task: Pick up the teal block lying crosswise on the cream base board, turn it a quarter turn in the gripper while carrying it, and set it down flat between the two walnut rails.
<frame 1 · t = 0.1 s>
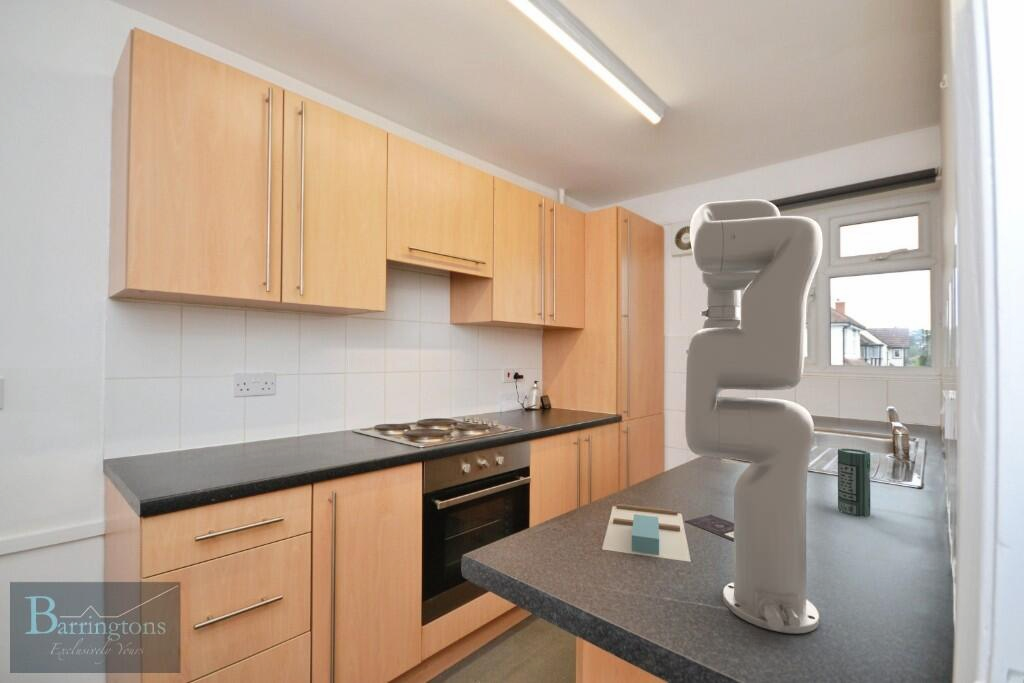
hand: (723, 383, 112), 31 cm above the countertop, tool pointing down, fingers open, 9 cm apart
cream base board: (645, 531, 97), on the countertop
chocolate bar: (733, 536, 97), on the countertop
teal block: (645, 540, 91), resting on cream base board
can: (853, 513, 111), on the countertop
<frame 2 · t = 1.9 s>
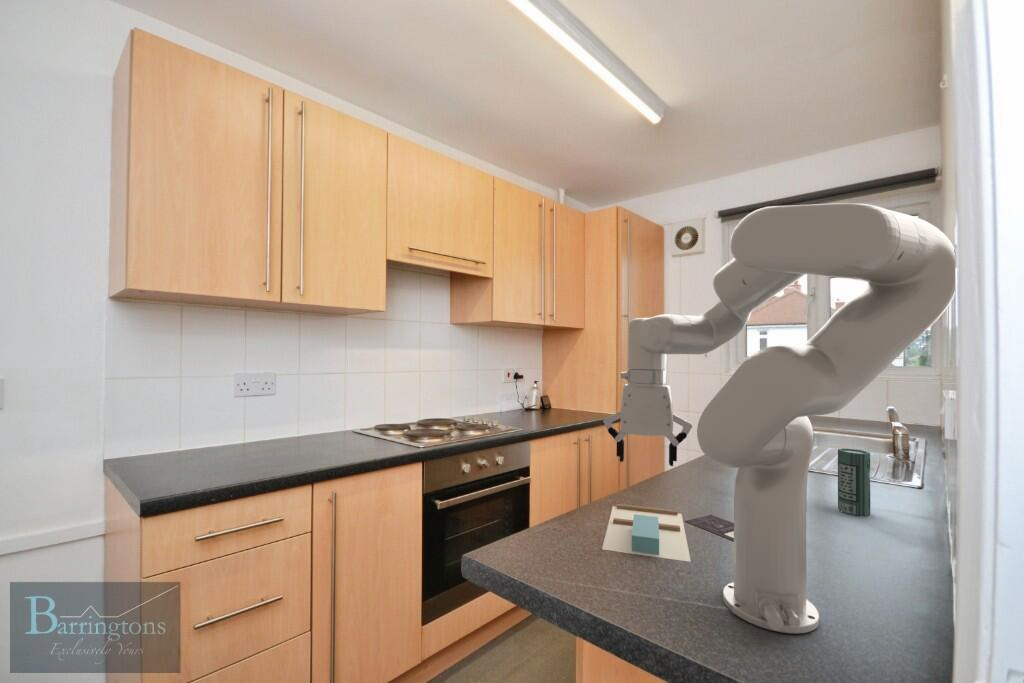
hand: (646, 462, 92), 16 cm above the countertop, tool pointing down, fingers open, 9 cm apart
nothing on the countertop moved.
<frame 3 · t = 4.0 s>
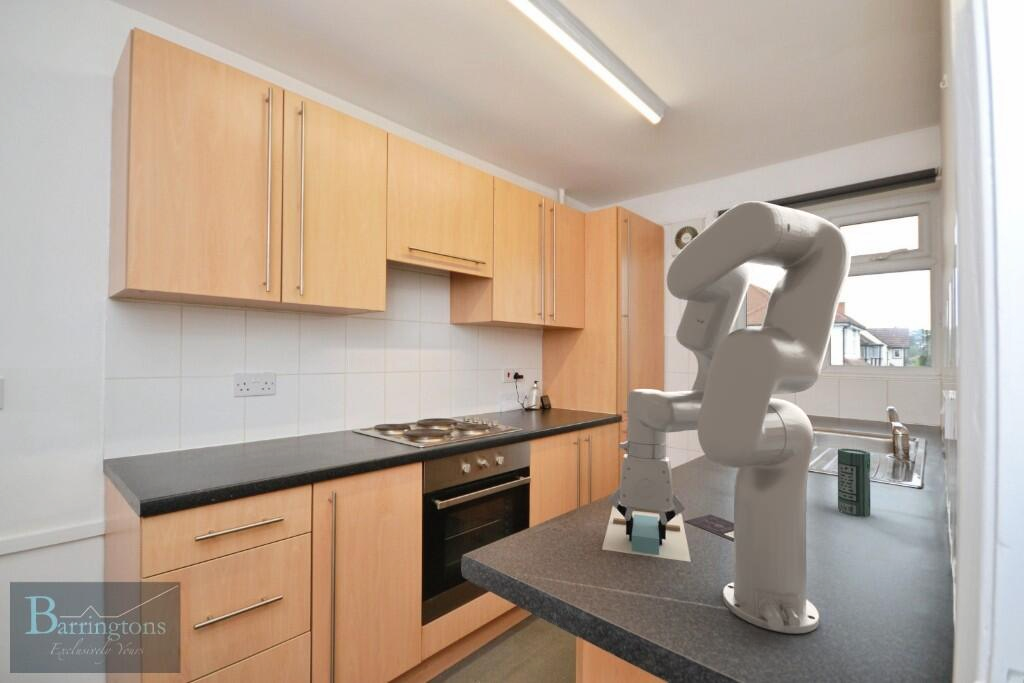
hand: (645, 539, 91), 1 cm above the countertop, tool pointing down, fingers closed on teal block, 5 cm apart
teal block: (645, 540, 91), resting on cream base board, touching gripper
everything else where it was.
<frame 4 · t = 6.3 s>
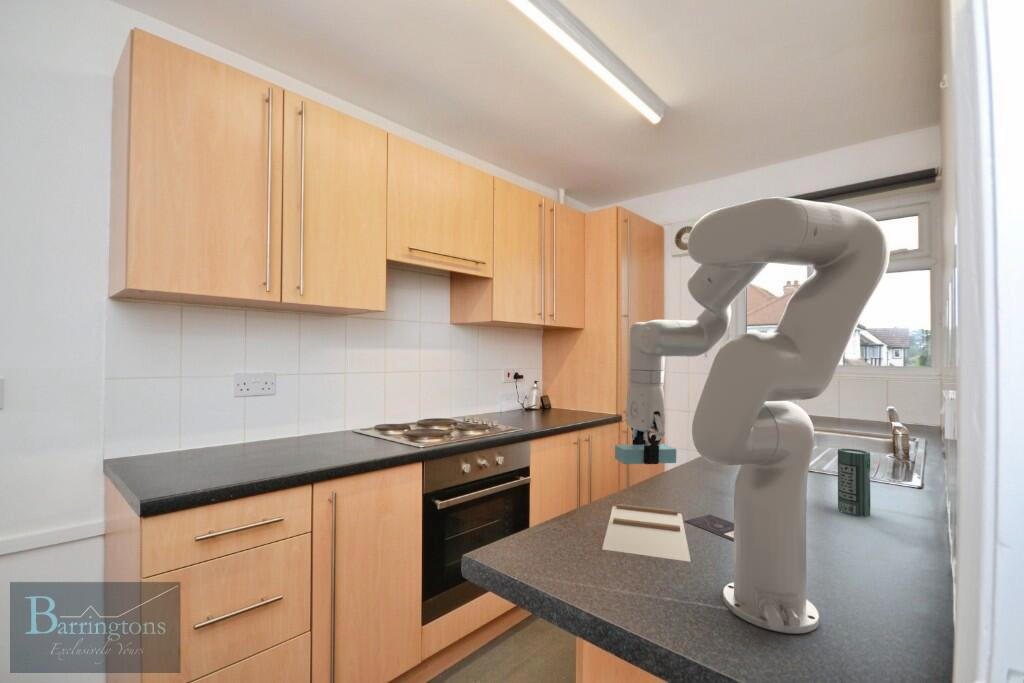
hand: (645, 459, 100), 15 cm above the countertop, tool pointing down, fingers closed on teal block, 5 cm apart
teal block: (645, 460, 100), point 15 cm above the countertop, touching gripper
everything else where it was.
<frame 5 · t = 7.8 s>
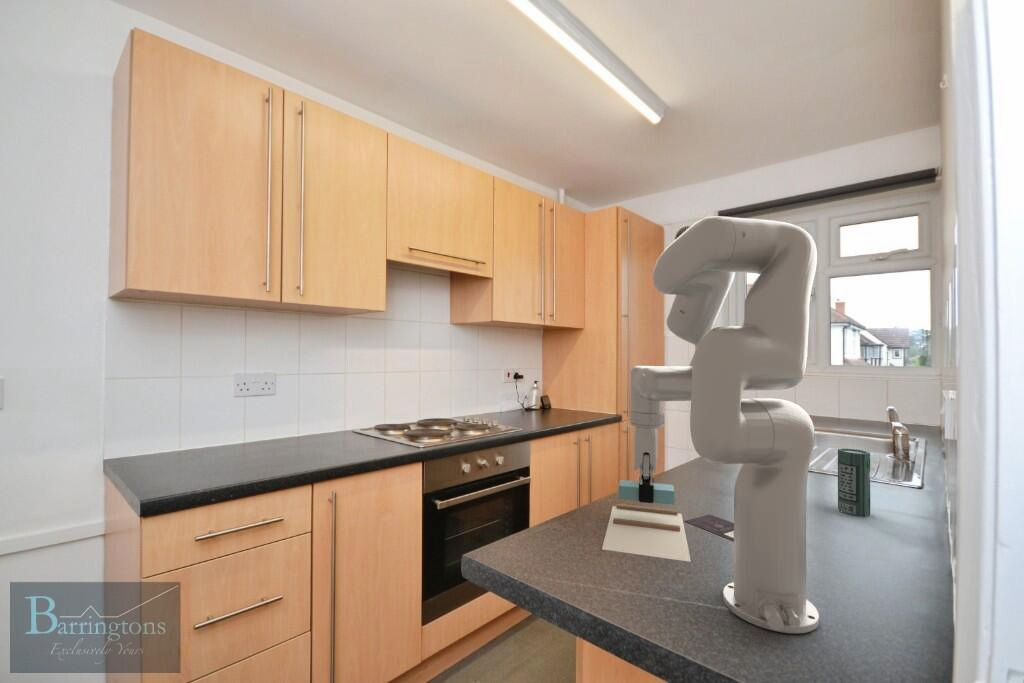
hand: (646, 497, 104), 5 cm above the countertop, tool pointing down, fingers closed on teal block, 5 cm apart
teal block: (646, 498, 104), point 5 cm above the countertop, touching gripper
everything else where it was.
when the fingers open (2 cm above the countertop, at t = 8.7 s): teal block drops 1 cm, resting on cream base board.
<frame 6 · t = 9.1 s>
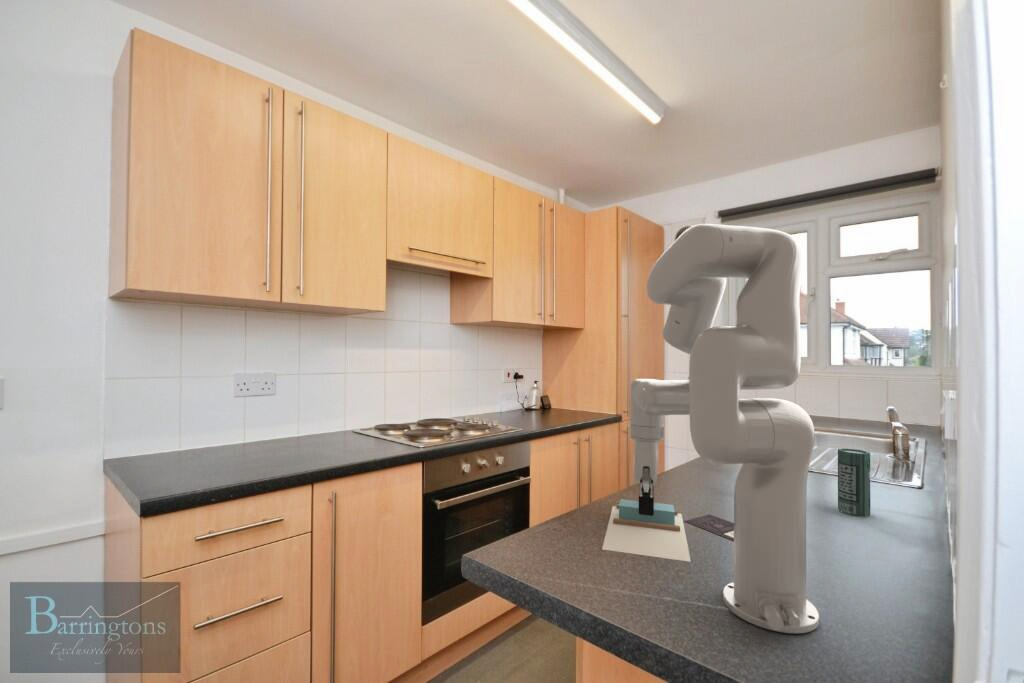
hand: (646, 507, 104), 3 cm above the countertop, tool pointing down, fingers open, 8 cm apart
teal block: (646, 518, 104), resting on cream base board
everything else where it was.
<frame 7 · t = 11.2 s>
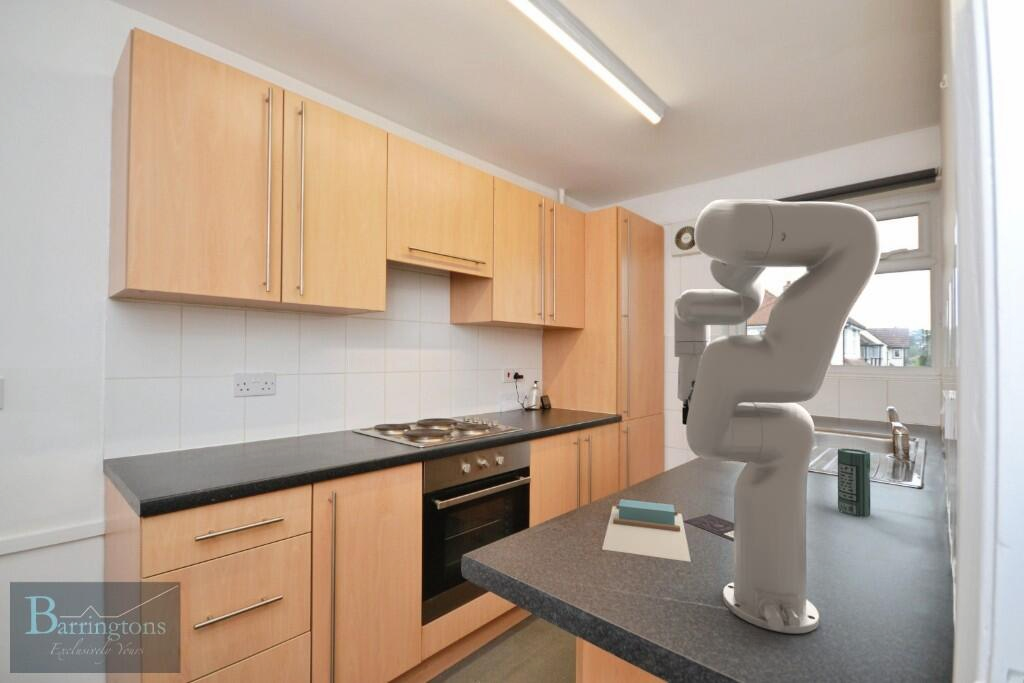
hand: (692, 427, 100), 22 cm above the countertop, tool pointing down, fingers open, 9 cm apart
nothing on the countertop moved.
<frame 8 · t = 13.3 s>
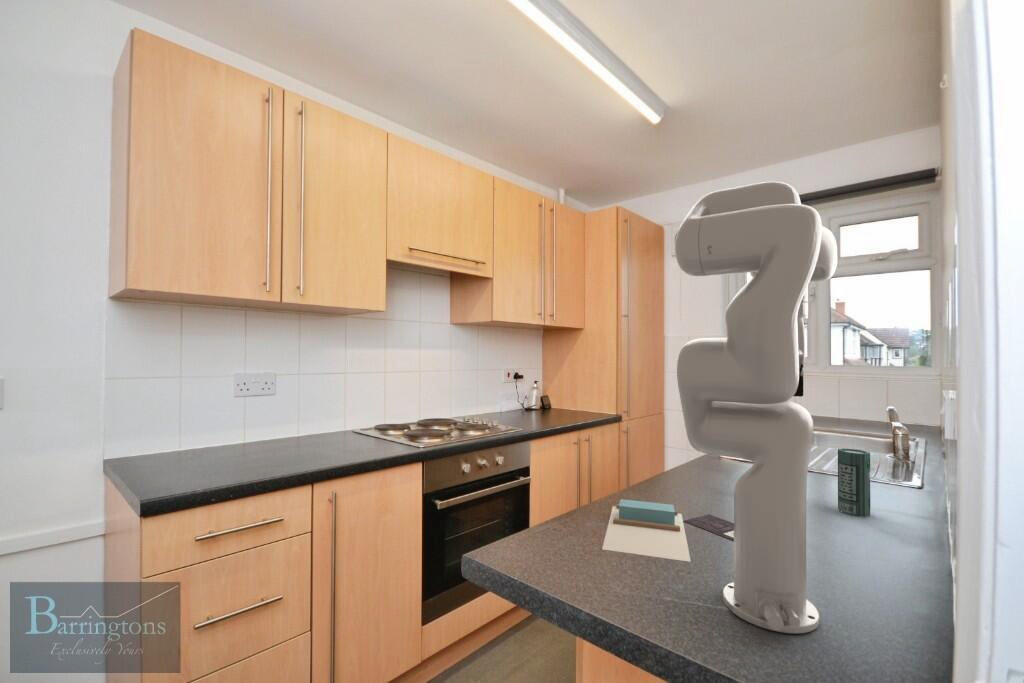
hand: (786, 394, 94), 30 cm above the countertop, tool pointing down, fingers open, 9 cm apart
nothing on the countertop moved.
at the end: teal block 0.1 cm from the target spot on the cream base board, point 0.4 cm above the cream base board's base; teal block tilted 0°; the gripper is holding nothing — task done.
